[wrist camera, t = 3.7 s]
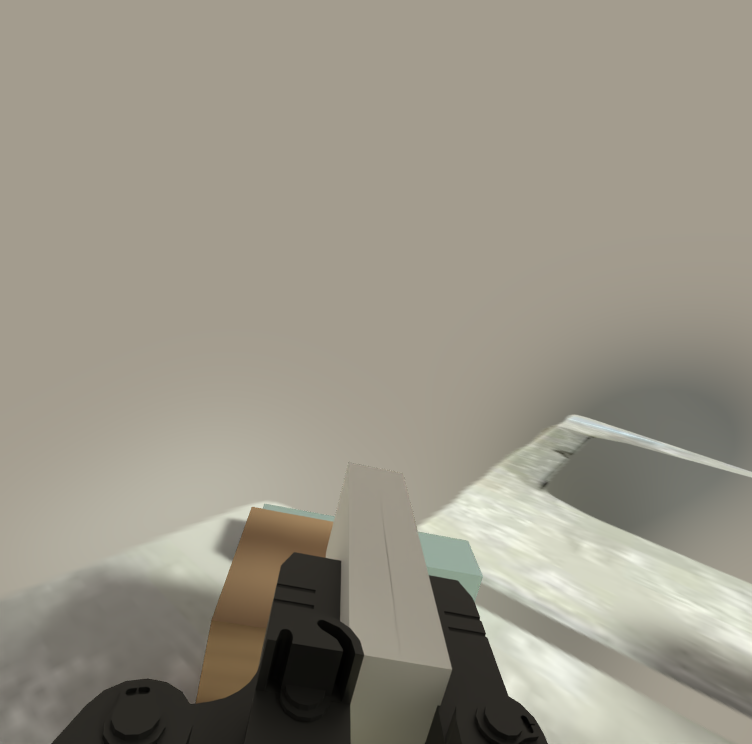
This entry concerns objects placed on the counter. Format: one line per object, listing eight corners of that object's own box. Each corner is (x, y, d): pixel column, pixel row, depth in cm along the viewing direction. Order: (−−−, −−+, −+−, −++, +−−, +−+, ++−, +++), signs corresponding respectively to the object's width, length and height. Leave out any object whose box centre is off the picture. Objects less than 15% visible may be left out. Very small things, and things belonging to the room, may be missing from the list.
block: (353, 833, 23) (407, 650, 21) (174, 813, 22) (211, 619, 20) (351, 672, 32) (389, 531, 30) (222, 653, 31) (251, 506, 29)
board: (472, 608, 41) (482, 576, 40) (247, 571, 39) (254, 536, 38) (458, 570, 45) (467, 540, 45) (257, 535, 43) (264, 503, 43)
